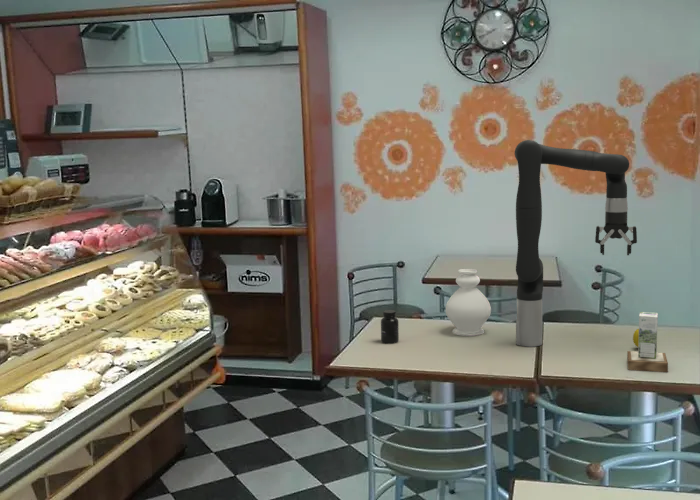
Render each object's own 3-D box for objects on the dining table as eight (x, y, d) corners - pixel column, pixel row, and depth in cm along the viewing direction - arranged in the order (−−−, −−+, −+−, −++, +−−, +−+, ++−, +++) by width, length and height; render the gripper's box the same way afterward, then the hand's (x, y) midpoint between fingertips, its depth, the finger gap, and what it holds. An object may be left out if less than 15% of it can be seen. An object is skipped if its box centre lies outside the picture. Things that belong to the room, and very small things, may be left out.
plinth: (628, 369, 253) (628, 360, 253) (627, 359, 264) (627, 350, 264) (667, 372, 249) (667, 362, 249) (664, 361, 261) (665, 352, 260)
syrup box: (657, 354, 258) (658, 312, 256) (656, 359, 253) (657, 316, 251) (638, 353, 260) (639, 311, 258) (637, 357, 255) (638, 315, 253)
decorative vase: (446, 326, 318) (445, 266, 314) (490, 326, 316) (489, 266, 312) (445, 337, 301) (444, 274, 297) (492, 337, 298) (491, 274, 294)
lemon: (650, 351, 273) (651, 329, 272) (634, 351, 274) (634, 329, 273) (647, 347, 278) (648, 325, 277) (631, 347, 279) (632, 325, 278)
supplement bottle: (378, 343, 296) (377, 312, 294) (384, 338, 302) (383, 308, 300) (395, 344, 293) (394, 313, 292) (401, 340, 300) (400, 309, 298)
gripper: (595, 211, 276) (594, 256, 278) (637, 211, 271) (637, 256, 274) (595, 209, 283) (595, 253, 285) (637, 209, 279) (636, 253, 281)
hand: (615, 254), depth 280 cm, fingers open, 8 cm apart
